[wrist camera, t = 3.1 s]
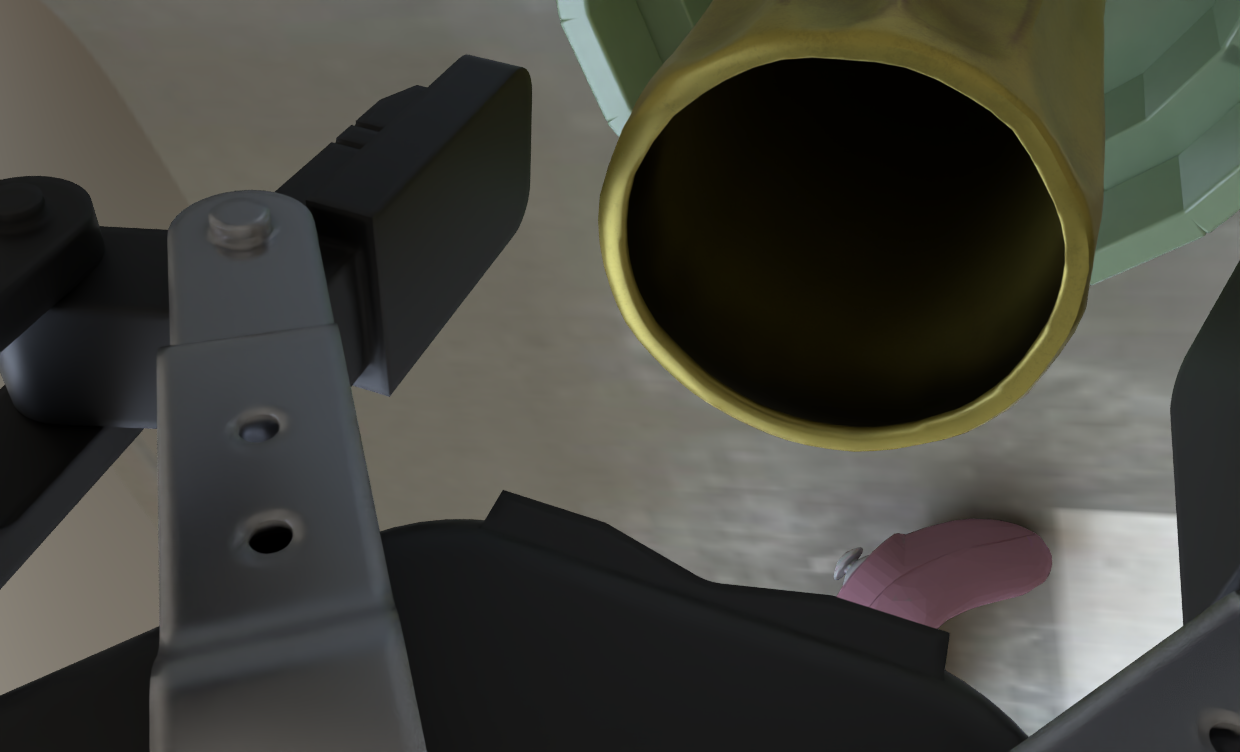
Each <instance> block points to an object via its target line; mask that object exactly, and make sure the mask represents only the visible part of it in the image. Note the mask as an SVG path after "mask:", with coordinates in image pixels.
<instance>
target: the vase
mask: <svg viewBox="0 0 1240 752" xmlns="http://www.w3.org/2000/svg"><path fill="white" fill-rule="evenodd" d="M1105 3H1106V0H713V1H712V2H711V4H710V5H709V7H708V8H707V10H706V11H705V12H704V14H703V15H702V17H701V18H700V19H699V21H698V22H697V23H696V25H695V26H694V27H693V28H692V30H691V31H690V32H689V34H688V35H687V36H686V37H685V39H684V40H683V41H682V43H681V44H680V45H679V46H678V48H677V49H676V50H675V51H674V53H673V54H672V55H671V56H670V57H669V58H668V59H667V60H666V61H665V62H664V63H663V65H662V66H661V67H660V68H659V70H658V71H657V72H656V73H655V74H654V76H653V77H652V78H651V79H650V81H649V82H648V84H647V85H646V87H645V88H644V90H643V91H642V93H641V95H640V96H639V98H638V100H637V102H636V103H635V106H634V108H633V111H632V113H631V115H630V117H629V119H628V120H627V122H626V124H625V125H624V127H623V129H622V132H621V134H620V137H619V140H618V142H617V145H616V147H615V150H614V153H613V155H612V158H611V161H610V163H609V166H608V170H607V173H606V176H605V180H604V183H603V187H602V190H601V194H600V203H599V216H598V224H599V240H600V247H601V253H602V258H603V264H604V268H605V271H606V275H607V278H608V281H609V284H610V287H611V290H612V293H613V295H614V298H615V301H616V303H617V306H618V308H619V310H620V312H621V314H622V316H623V318H624V320H625V322H626V323H627V325H628V326H629V328H630V329H631V330H632V332H633V333H634V335H635V336H636V337H637V339H638V340H639V341H640V342H641V343H642V345H643V346H644V347H645V348H646V349H647V350H648V351H649V353H650V354H651V355H652V356H653V357H654V358H655V359H656V360H657V361H658V362H659V363H660V364H661V365H662V366H663V367H664V368H665V369H666V370H667V371H668V372H669V373H670V374H671V375H672V376H674V377H675V378H676V379H677V380H678V381H679V382H680V383H681V384H683V385H684V386H685V387H686V388H688V389H689V390H690V391H691V392H693V393H694V394H695V395H697V396H698V397H700V398H701V399H703V400H704V401H706V402H707V403H709V404H711V405H712V406H714V407H715V408H717V409H719V410H721V411H723V412H724V413H726V414H728V415H730V416H731V417H733V418H735V419H737V420H740V421H742V422H744V423H746V424H748V425H750V426H752V427H754V428H757V429H759V430H761V431H764V432H766V433H768V434H771V435H774V436H777V437H780V438H782V439H785V440H789V441H793V442H797V443H801V444H805V445H809V446H815V447H821V448H827V449H833V450H843V451H853V452H858V451H878V450H890V449H898V448H903V447H908V446H914V445H919V444H924V443H929V442H934V441H939V440H944V439H947V438H950V437H954V436H957V435H960V434H964V433H966V432H969V431H971V430H973V429H975V428H977V427H979V426H981V425H983V424H985V423H987V422H988V421H990V420H992V419H993V418H995V417H997V416H998V415H1000V414H1001V413H1003V412H1005V411H1006V410H1008V409H1009V408H1011V407H1012V406H1013V405H1014V404H1016V403H1017V402H1018V401H1019V400H1020V399H1022V398H1023V397H1024V396H1025V395H1027V394H1028V393H1029V391H1030V390H1031V389H1032V388H1033V387H1034V385H1035V384H1036V383H1037V382H1038V380H1039V379H1040V378H1041V377H1042V376H1043V374H1044V373H1045V372H1046V371H1047V369H1048V368H1049V367H1050V366H1051V364H1052V363H1053V362H1054V361H1055V359H1056V358H1057V357H1058V356H1059V354H1060V353H1061V351H1062V350H1063V348H1064V347H1065V346H1066V344H1067V343H1068V341H1069V340H1070V338H1071V337H1072V335H1073V334H1074V333H1075V331H1076V329H1077V327H1078V324H1079V322H1080V320H1081V318H1082V316H1083V314H1084V312H1085V309H1086V306H1087V299H1088V291H1089V286H1090V281H1091V275H1092V270H1093V264H1094V256H1095V251H1096V245H1097V240H1098V234H1099V228H1100V224H1101V219H1102V211H1103V201H1104V161H1105V106H1104V12H1105Z"/></svg>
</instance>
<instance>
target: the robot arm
mask: <svg viewBox="0 0 1240 752" xmlns="http://www.w3.org/2000/svg"><path fill="white" fill-rule="evenodd" d="M531 115H532V84H531V78H530V75H529V72H528V71H527V69H525V68H523V67H519V66H514V65H510V64H506V63H501V62H497V61H493V60H489V59H484V58H480V57H476V56H472V55H464V56H462V57H460V58H459V59H458V60H457V61H456V62H455V63H454V64H453V65H451V66H450V67H449V68H448V69H447V70H446V71H445V72H444V73H443V74H442V75H441V76H440V77H438V78H437V79H436V80H435V81H434V82H433V83H432V84H431V85H430V86H429V87H428V88H427V87H423V86H419V85H416V86H413V87H411V88H408V89H406V90H403V91H401V92H398V93H396V94H393V95H391V96H388V97H386V98H383V99H381V100H379V101H378V102H377V103H376V104H375V105H374V106H372V107H371V108H370V109H369V110H368V111H367V112H366V113H364V114H363V115H362V116H361V117H360V118H359V119H358V120H356V125H355V126H353V125H351V126H350V127H348V128H347V129H346V130H345V131H344V132H343V133H342V134H340V135H339V136H338V137H337V138H336V143H332V142H331V143H330V144H329V145H328V146H327V147H326V148H324V149H323V150H322V151H321V152H320V153H319V154H318V155H316V156H315V157H314V158H313V159H312V160H311V161H310V162H308V163H307V164H306V165H305V166H304V167H303V168H302V169H300V170H299V171H298V172H297V173H296V174H295V175H294V176H292V177H291V178H290V179H289V180H288V181H287V182H286V183H284V184H283V185H282V186H281V187H280V188H279V189H278V190H276V191H275V192H270V191H262V190H242V191H233V192H226V193H222V194H217V195H214V196H211V197H208V198H205V199H202V200H200V201H198V202H196V203H194V204H192V205H190V206H189V207H187V208H186V209H184V210H183V211H182V212H181V213H179V214H178V215H177V216H176V218H175V219H174V220H173V221H172V222H171V225H170V227H169V229H168V230H160V229H140V228H122V227H121V228H120V227H104V226H99V224H98V220H97V217H96V214H95V210H94V207H93V204H92V201H91V198H90V196H89V194H88V193H87V192H86V191H85V190H84V189H83V188H82V187H80V186H79V185H77V184H75V183H73V182H70V181H67V180H64V179H60V178H54V177H46V176H24V177H14V178H8V179H3V180H0V373H1V376H2V378H3V381H4V383H5V385H4V386H3V387H2V388H1V389H0V589H1V588H2V587H3V586H4V585H5V584H6V582H7V581H8V580H9V579H10V578H11V577H12V576H13V575H14V574H15V572H16V571H17V570H18V569H19V568H20V567H21V566H22V565H23V564H24V562H25V561H26V560H27V559H28V558H29V557H30V555H32V553H33V552H34V551H35V550H36V549H37V548H38V547H39V546H40V545H41V543H42V542H43V541H44V540H45V539H46V538H47V536H48V535H49V534H50V533H51V532H52V531H53V530H54V529H55V528H56V526H58V524H59V523H60V522H61V521H62V520H63V519H64V518H65V516H66V515H67V514H68V513H69V512H70V511H71V510H72V509H73V507H74V506H75V505H76V504H77V503H78V502H79V501H80V500H81V498H82V497H83V496H84V495H85V494H86V493H87V492H88V491H89V490H90V488H91V487H92V486H93V485H94V484H95V483H96V482H97V481H98V480H99V479H100V477H101V476H102V475H103V474H104V473H105V472H106V471H107V470H108V468H109V467H110V466H111V465H112V464H113V463H114V462H115V461H116V460H117V458H118V457H119V456H120V455H121V454H122V453H123V452H124V451H125V449H126V448H127V447H128V446H129V445H130V444H131V443H132V442H133V441H134V439H135V438H136V437H137V436H138V435H139V434H140V433H141V432H142V430H143V429H144V428H153V429H157V439H158V440H157V445H158V447H157V449H158V534H159V619H160V620H159V621H160V626H159V627H156V628H154V629H152V630H150V631H147V632H145V633H143V634H140V635H138V636H136V637H133V638H131V639H129V640H126V641H124V642H122V643H120V644H117V645H115V646H113V647H110V648H108V649H106V650H104V651H101V652H99V653H97V654H94V655H92V656H90V657H87V658H85V659H83V660H81V661H78V662H76V663H74V664H71V665H69V666H67V667H65V668H62V669H60V670H58V671H55V672H53V673H51V674H49V675H46V676H44V677H42V678H39V679H37V680H35V681H32V682H30V683H28V684H26V685H23V686H21V687H19V688H16V689H14V690H12V691H10V692H7V693H5V694H3V695H0V752H1240V261H1239V263H1238V264H1237V266H1236V268H1235V270H1234V271H1233V273H1232V275H1231V277H1230V278H1229V280H1228V282H1227V284H1226V285H1225V287H1224V289H1223V291H1222V292H1221V294H1220V296H1219V298H1218V300H1217V301H1216V303H1215V305H1214V307H1213V308H1212V310H1211V312H1210V314H1209V315H1208V317H1207V319H1206V321H1205V322H1204V324H1203V326H1202V328H1201V330H1200V331H1199V333H1198V335H1197V337H1196V338H1195V340H1194V342H1193V344H1192V345H1191V347H1190V349H1189V351H1188V352H1187V354H1186V356H1185V358H1184V360H1183V363H1182V365H1181V367H1180V370H1179V372H1178V375H1177V378H1176V381H1175V385H1174V389H1173V393H1172V399H1171V408H1170V414H1171V431H1172V447H1173V463H1174V480H1175V496H1176V513H1177V529H1178V546H1179V562H1180V579H1181V595H1182V611H1183V626H1182V627H1181V628H1180V629H1178V630H1177V631H1176V632H1174V633H1173V634H1171V635H1170V636H1169V637H1167V638H1166V639H1164V640H1163V641H1162V642H1160V643H1159V644H1158V645H1156V646H1155V647H1153V648H1152V649H1151V650H1149V651H1148V652H1146V653H1145V654H1144V655H1142V656H1141V657H1139V658H1138V659H1137V660H1135V661H1134V662H1133V663H1131V664H1130V665H1128V666H1127V667H1126V668H1124V669H1123V670H1121V671H1120V672H1119V673H1117V674H1116V675H1114V676H1113V677H1112V678H1110V679H1109V680H1108V681H1106V682H1105V683H1103V684H1102V685H1101V686H1099V687H1098V688H1096V689H1095V690H1094V691H1092V692H1091V693H1089V694H1088V695H1087V696H1085V697H1084V698H1083V699H1081V700H1080V701H1078V702H1077V703H1076V704H1074V705H1073V706H1071V707H1070V708H1069V709H1067V710H1066V711H1065V712H1063V713H1062V714H1060V715H1059V716H1058V717H1056V718H1055V719H1053V720H1052V721H1051V722H1049V723H1048V724H1046V725H1045V726H1044V727H1042V728H1041V729H1040V730H1038V731H1037V732H1035V733H1034V734H1033V735H1031V736H1030V737H1028V736H1027V735H1026V734H1025V732H1024V731H1023V730H1022V729H1021V728H1020V727H1019V726H1018V725H1017V724H1016V723H1015V722H1014V721H1013V720H1012V719H1011V718H1010V717H1009V716H1007V715H1006V714H1005V713H1004V712H1003V711H1002V710H1001V709H999V708H998V707H997V706H996V705H995V704H994V703H992V702H991V701H990V700H989V699H988V698H986V697H985V696H984V695H982V694H981V693H979V692H978V691H976V690H975V689H974V688H972V687H971V686H969V685H968V684H967V683H965V682H964V681H962V680H961V679H959V678H957V677H956V676H954V675H952V674H951V673H949V672H947V671H946V670H945V663H946V656H947V649H948V642H949V634H950V633H948V632H945V631H942V630H939V629H936V628H932V627H929V626H926V625H923V624H920V623H917V622H914V621H911V620H907V619H904V618H901V617H898V616H895V615H892V614H889V613H886V612H882V611H879V610H876V609H873V608H870V607H867V606H864V605H861V604H857V603H854V602H851V601H848V600H845V599H842V598H839V597H836V596H832V595H823V594H814V593H804V592H795V591H785V590H776V589H767V588H757V587H748V586H739V585H729V584H720V583H715V582H711V581H708V580H705V579H703V578H700V577H698V576H696V575H695V574H693V573H691V572H690V571H688V570H686V569H684V568H683V567H681V566H679V565H677V564H676V563H674V562H672V561H671V560H669V559H667V558H665V557H664V556H662V555H660V554H659V553H657V552H655V551H653V550H652V549H650V548H648V547H646V546H645V545H643V544H641V543H640V542H638V541H636V540H634V539H633V538H631V537H629V536H627V535H626V534H624V533H622V532H621V531H619V530H617V529H615V528H614V527H612V526H610V525H609V524H607V523H605V522H602V521H598V520H595V519H592V518H589V517H586V516H583V515H580V514H577V513H573V512H570V511H567V510H564V509H561V508H558V507H555V506H552V505H548V504H545V503H542V502H539V501H536V500H533V499H530V498H527V497H523V496H520V495H517V494H514V493H511V492H508V491H505V490H503V491H502V492H501V494H500V496H499V497H498V499H497V501H496V502H495V504H494V506H493V507H492V509H491V511H490V513H489V514H488V516H487V518H486V519H485V520H473V519H445V520H436V521H426V522H418V523H413V524H408V525H404V526H399V527H394V528H390V529H387V530H384V531H381V532H380V530H379V525H378V520H377V515H376V510H375V505H374V500H373V496H372V491H371V486H370V481H369V476H368V471H367V466H366V461H365V456H364V451H363V446H362V441H361V436H360V431H359V426H358V421H357V416H356V411H355V406H354V401H353V396H352V391H351V386H352V385H354V386H357V387H360V388H363V389H367V390H370V391H373V392H376V393H379V394H383V395H386V396H389V397H390V395H391V394H392V393H393V391H394V390H395V389H396V388H397V386H398V385H399V384H400V382H401V381H402V380H403V378H404V377H405V376H406V375H407V373H408V372H409V371H410V369H411V368H412V367H413V366H414V364H415V363H416V362H417V360H418V359H419V358H420V356H421V355H422V354H423V353H424V351H425V350H426V349H427V347H428V346H429V345H430V343H431V342H432V341H433V340H434V338H435V337H436V336H437V334H438V333H439V332H440V331H441V329H442V328H443V327H444V325H445V324H446V323H447V321H448V320H449V319H450V318H451V316H452V315H453V314H454V312H455V311H456V310H457V308H458V307H459V306H460V305H461V303H462V302H463V301H464V299H465V298H466V297H467V295H468V294H469V293H470V292H471V290H472V289H473V288H474V286H475V285H476V284H477V283H478V281H479V280H480V279H481V277H482V276H483V275H484V273H485V272H486V271H487V270H488V268H489V267H490V266H491V264H492V263H493V262H494V260H495V259H496V258H497V257H498V255H499V254H500V253H501V251H502V250H503V249H504V248H505V246H506V245H507V244H508V242H509V241H510V240H511V238H512V237H513V236H514V234H515V233H516V231H517V230H518V228H519V226H520V224H521V221H522V219H523V216H524V213H525V210H526V206H527V202H528V197H529V190H530V163H531Z"/></svg>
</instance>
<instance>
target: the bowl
mask: <svg viewBox="0 0 1240 752" xmlns="http://www.w3.org/2000/svg"><path fill="white" fill-rule="evenodd" d="M712 1H713V0H556V3H557V9H558V15H559V18H560V19H561V26H562V28H563V30H564V32H565V34H566V36H567V38H568V41H569V43H570V45H571V47H572V49H573V51H574V53H575V56H576V58H577V60H578V62H579V64H580V66H581V68H582V71H583V73H584V75H585V77H586V79H587V81H588V83H589V85H590V88H591V90H592V92H593V94H594V96H595V98H596V100H597V103H598V105H599V107H600V109H601V111H602V113H603V115H604V118H605V119H606V121H608V125H609V126H610V127H611V128H612V130H613V131H614V132H615V133H616V134H617V135H618V137H620V134H621V132H622V129H623V127H624V125H625V124H626V122H627V120H628V119H629V117H630V115H631V113H632V111H633V108H634V106H635V103H636V102H637V100H638V98H639V96H640V95H641V93H642V91H643V90H644V88H645V87H646V85H647V84H648V82H649V81H650V79H651V78H652V77H653V76H654V74H655V73H656V72H657V71H658V70H659V68H660V67H661V66H662V65H663V63H664V62H665V61H666V60H667V59H668V58H669V57H670V56H671V55H672V54H673V53H674V51H675V50H676V49H677V48H678V46H679V45H680V44H681V43H682V41H683V40H684V39H685V37H686V36H687V35H688V34H689V32H690V31H691V30H692V28H693V27H694V26H695V25H696V23H697V22H698V21H699V19H700V18H701V17H702V15H703V14H704V12H705V11H706V10H707V8H708V7H709V5H710V4H711V2H712ZM1104 106H1105V161H1104V201H1103V211H1102V219H1101V224H1100V228H1099V234H1098V240H1097V245H1096V251H1095V256H1094V264H1093V270H1092V275H1091V281H1090V285H1094V284H1097V283H1099V282H1101V281H1103V280H1106V279H1108V278H1110V277H1113V276H1115V275H1117V274H1120V273H1122V272H1124V271H1126V270H1129V269H1131V268H1133V267H1136V266H1138V265H1140V264H1142V263H1145V262H1147V261H1149V260H1152V259H1154V258H1156V257H1158V256H1161V255H1163V254H1165V253H1168V252H1170V251H1172V250H1175V249H1177V248H1179V247H1181V246H1184V245H1186V244H1188V243H1191V242H1193V241H1195V240H1197V239H1200V238H1202V237H1204V236H1205V235H1206V232H1207V233H1210V232H1212V231H1213V230H1215V229H1216V228H1217V227H1218V226H1220V225H1221V224H1222V223H1224V222H1225V221H1226V220H1227V219H1229V218H1230V217H1231V216H1232V215H1234V214H1235V213H1236V212H1237V211H1239V210H1240V0H1106V3H1105V12H1104Z"/></svg>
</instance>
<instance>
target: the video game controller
mask: <svg viewBox="0 0 1240 752" xmlns="http://www.w3.org/2000/svg"><path fill="white" fill-rule="evenodd" d="M862 552H863V549H862V548H861V547H859V548H856V549H852V550H851V551H848V552H846V553H845V554H844V555H843V556H842V557H841V559H840V560H839V561H838V563H837V565H836V569H835V574H834V578H835V580H839V579H840V578H842V577H843V576H844V575H845V574H846V576H845V579H844V583H843V586H842V588H841V591H840V592H839V594H838V595H837V597H839V598H842V599H845V600H848V601H851V602H854V603H857V604H861V605H864V606H867V607H870V608H873V609H876V610H879V611H882V612H886V613H889V614H892V615H895V616H898V617H901V618H904V619H907V620H911V621H914V622H917V623H920V624H923V625H926V626H929V627H932V628H936V629H937V628H939V627H940V626H941V625H942V624H943V623H944V622H945V621H946V620H948V619H950V618H952V617H954V616H956V615H959V614H961V613H963V612H965V611H967V610H969V609H972V608H975V607H979V606H982V605H985V604H989V603H993V602H997V601H1001V600H1005V599H1009V598H1013V597H1017V596H1021V595H1024V594H1026V593H1028V592H1029V591H1031V590H1032V589H1034V588H1035V587H1037V586H1039V585H1040V584H1042V583H1043V582H1045V580H1046V579H1047V577H1048V576H1049V574H1050V571H1051V567H1052V555H1051V553H1050V550H1049V548H1048V547H1047V545H1046V544H1045V542H1044V541H1043V540H1042V539H1041V537H1040V536H1038V535H1037V534H1035V533H1034V532H1032V531H1030V530H1028V529H1026V528H1024V527H1021V526H1019V525H1017V524H1013V523H1009V522H1004V521H999V520H990V519H963V520H955V521H949V522H945V523H941V524H937V525H934V526H930V527H926V528H923V529H920V530H917V531H915V532H912V533H909V534H906V535H904V534H900V533H897V534H894V535H892V536H891V537H889V538H888V539H887V540H885V541H884V542H883V543H882V544H881V545H880V546H879V547H878V548H876V549H875V550H874V551H873V552H872V553H871V554H870V555H867V556H865V557H863V558H861V559H859V557H860V556H861V554H862ZM858 559H859V560H858Z"/></svg>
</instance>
